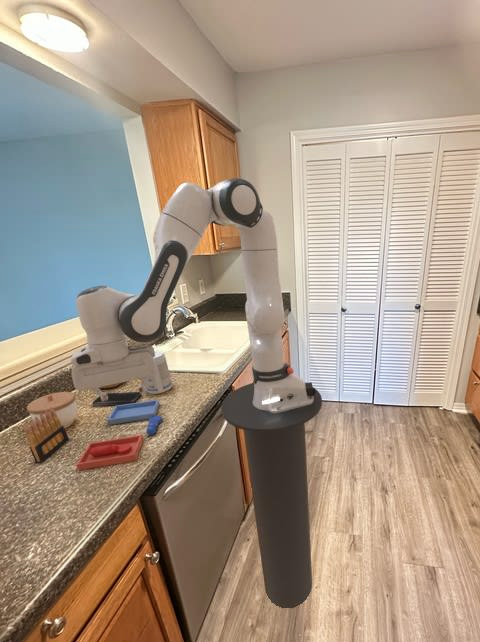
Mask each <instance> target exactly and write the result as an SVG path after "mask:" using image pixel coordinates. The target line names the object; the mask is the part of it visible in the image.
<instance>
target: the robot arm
mask: <svg viewBox="0 0 480 642" xmlns="http://www.w3.org/2000/svg"><path fill="white" fill-rule="evenodd" d="M211 223H212V224H214V225H217V226H223V227H224V226H228V227H235V228H236V230H237V231H238V234H239V239H240V248H241V249H240V250H241V259H242V260H241V261H242V271H243V280H244V287H245V295H246V302H245V305H244V310H245V317H246V325H247V331H248V338H249V344H250V351H251V360H252V366H251V374H252V381H253V383H254V397H253V405H254V406H255V407H256V408H258V409H261V410H265V411H269V412H271V413H274V414H276V413H280V412H284V411H288V410H291V409H295V408H299V407H303V406H306V405H310V404H312V403H313V401H314V397H313V396H314V395H315V393H316V390H317V389H316V388H315V387H314V386H313V383H312V382H305V381H304V380H303V378H301V377H300V376H298V375H296V374H294V369H293V368H292V367H291V365H290V364H288V362H287V361H286V362H285V354H284V352H285V351H284V342H283V339H282V333H281V329H282V328H283V326H284V324H285V309H284V302H283V293H282V286H281V281H280V280H281V279H280V267H279V250H278V247H279V246H278V238H277V237H278V236H277V231H276V225H275V221H274V218H273V215H272V214H271V213H270V212H268V210H265V209H264V208H263V204H262V202H261V200H260V196H259V193H258V191H257V189H256V188H255V187H254V186H253V184H252V183H251V182H249V181H248V180H246V179H243V178H241V177H240V178H239V177H234V178H233V177H232V178H229V179H226V180H222V181H219V182H218V183H217V184H215V185H213V186H210V187H209V188H207V189H204V188H203V187H202V186H200V185H198V184H197V183H194V182H189V181H188V182H183V183H181V184H180V185H179V186H178V187H177V189H176V190H175V191H174V193H173V194H172V195H171V196H170V198H169V199H168V201H167V202H166V203H165V206H164V207H163V209H162V211H161V213H160V215H159V217H158V220H157V222H156V225H155V228H154V232H153V236H152V241H153V246H154V252H155V253H154V254H155V255H154V256H155V257H154V262H153V266H152V269H150V270H151V271H150V273H149V275H148V277H147V279H146V282H145V284H144V286H143V288H142V289H141V290H142V291H141V292H140V294H132V293H127V292H123V291H121V290H116V289H114V288H111V287H109V286H108V285H98V286H97V285H96V286H92V287H90V288H86V289H84V290H82V291H81V292H79V293H78V294H77V296H76V298H75V304H76V305H75V306H76V310H77V314H78V318H79V321H80V324H81V327H82V329H83V330H84V331H85V333H86V342H87V345H86V346H84V347H82V348H80V349H78V350H77V349H76V351H74V353H72V356H71V358H70V362H71V364H72V368H71V378H72V382H73V386H74V388H75V390H77V391H79V392H82V391H88V390H92V391H93V393H94V394H96V396H98V397H99V396H100V397H101V400H102V401H106V400H108V396H107V393H108V392H102V391H101V390H100V389H101V388H100V387H102V386H107V385H112V384H117V383H120V384H122V383H126V382H130V381H135V380H140V382H141V384H139V385H137V389H138V392H139V393H141V394H142V393H145V392H146V387H145V383H146V377H150V376H155V375H156V374H157V372H158V369H157V365H156V362H155V360H154V356H155V351H156V350H155V348H154V346H152V345H151V344H147V343H149V342H153V341H156V340H157V339H159V338H160V337H161V336H162V335H163V333H164V332H165V330H166V327H167V309H168V305H169V303H170V300H171V298H172V296H173V294H174V291H175V289H176V287H177V284H178V282H179V281H180V278H181V275H182V273H183V271H184V269H185V268H186V266H187V264H188V262H189V261H190V260H191V257H192V256H193V254H194V253H195V252H196V250H197V248H198V246H199V245H200V242H201V240H202V239H203V236H204V235H205V233H206V230H207V228H208V227H209V225H211ZM127 338H129V339H130V340H132V341H135V342H137V343H141V344H135V345H129V344H128V340H127ZM121 382H122V383H121ZM313 387H314V388H315V389H316V390H315V389H314V388H313Z"/></svg>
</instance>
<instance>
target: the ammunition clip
mask: <svg viewBox="0 0 480 642" xmlns="http://www.w3.org/2000/svg"><path fill="white" fill-rule="evenodd" d="M50 414H51V415H50ZM50 414H49V412H48V411H47V410H45V416H46V418H45V417H44V415H43V414H42V413H40V420H41V422H42V424H41V422H40V420H39V419H38V418H37V417H35V422H34V421H33V419H30V420H29V425H28V424H27V423H24V424H23V428H24V432H25V436H26V439H27V442H28V443H29V450H30V452H31V455H32V457H33V461H34V462H35V463H43V462H45V461H46V460H47V459H48V458H50V457H51V456H52V455H53V454H55V452H57V451H58V450H59V449H60V448H61V447H63V445H65V444H66V443H67V442H68V441H69V440H70V438H69V436H68V434H67V431H66V428H64V427H63V426H62V425H61V423H60V420H59V418H58V417H57V415H56V413H55V411H54V409H53V408H52V407H50ZM46 419H47V420H46Z"/></svg>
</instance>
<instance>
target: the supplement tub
mask: <svg viewBox="0 0 480 642" xmlns="http://www.w3.org/2000/svg"><path fill="white" fill-rule="evenodd" d="M154 351H155V356H154V360H155V362H156V365H157V369H158V372H157V374H156V375H155V376H150V377H146V383H145V386H144V388H145V391H146V392H147V393H148V394H150V395H158V394H163V393H166V392H167V391H169V390H170V389H172V386H173V382H172V378H171V374H170V370H169V366H168V362H167V358H166V355H165V352H164V351H162V350H154Z"/></svg>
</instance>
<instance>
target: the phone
mask: <svg viewBox="0 0 480 642" xmlns="http://www.w3.org/2000/svg"><path fill="white" fill-rule="evenodd" d="M106 393H107V396H108V400H106V401H102V400H101V397H100V396H98V397H97V398H96V399H94V400H93V401H92V406H93V407H100V406H101V407H103V406H104V407H105V406H106V407H107V406H118V405H124V404H132V403H136V402H137V401H138V400H139V398H141V396H142V393H139V391H129V392H127V391H126V392H106Z"/></svg>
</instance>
